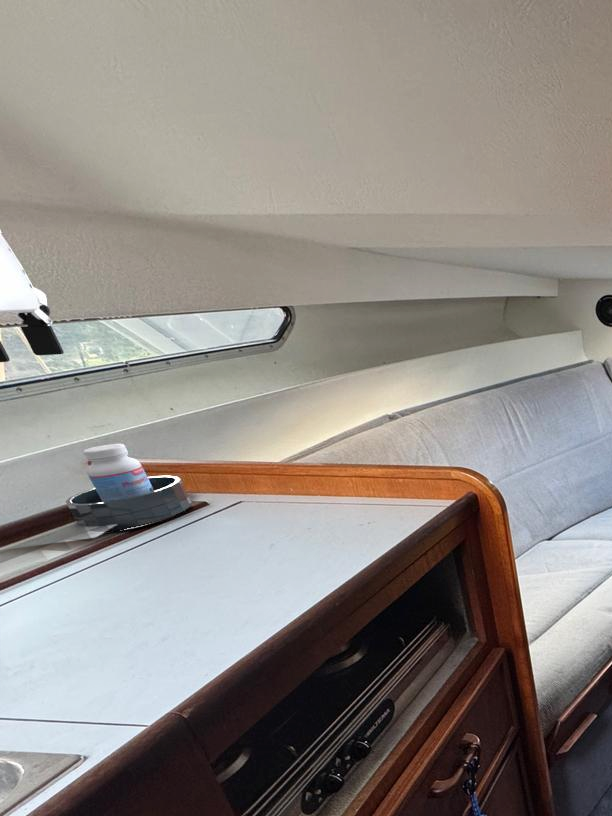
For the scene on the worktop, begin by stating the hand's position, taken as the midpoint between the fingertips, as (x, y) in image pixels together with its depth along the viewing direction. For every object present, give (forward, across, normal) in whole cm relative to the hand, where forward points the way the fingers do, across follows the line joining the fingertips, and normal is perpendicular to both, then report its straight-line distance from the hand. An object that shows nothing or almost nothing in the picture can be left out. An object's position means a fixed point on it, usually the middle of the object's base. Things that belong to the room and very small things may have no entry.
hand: (23, 358), depth 79 cm
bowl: (+25, -1, +3) cm, 26 cm away
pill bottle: (+25, -1, +3) cm, 25 cm away
